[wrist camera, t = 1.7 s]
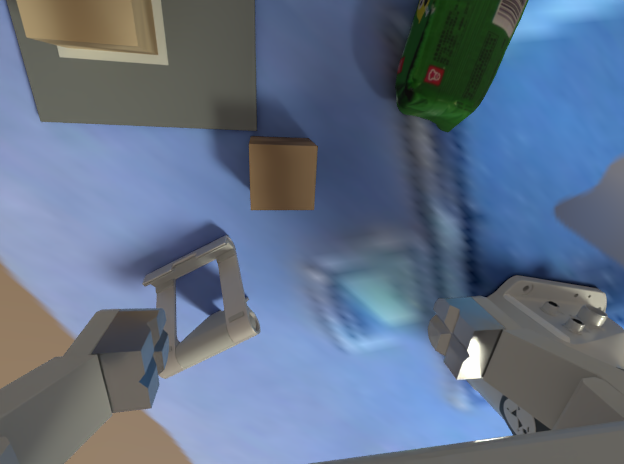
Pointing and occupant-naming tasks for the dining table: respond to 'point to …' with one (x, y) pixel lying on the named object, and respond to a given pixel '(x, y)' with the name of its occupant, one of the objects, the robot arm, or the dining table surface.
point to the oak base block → (91, 24)
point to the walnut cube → (282, 173)
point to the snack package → (453, 57)
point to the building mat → (154, 72)
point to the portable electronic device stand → (217, 327)
